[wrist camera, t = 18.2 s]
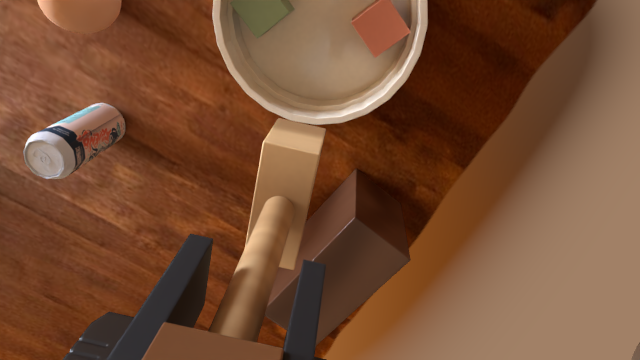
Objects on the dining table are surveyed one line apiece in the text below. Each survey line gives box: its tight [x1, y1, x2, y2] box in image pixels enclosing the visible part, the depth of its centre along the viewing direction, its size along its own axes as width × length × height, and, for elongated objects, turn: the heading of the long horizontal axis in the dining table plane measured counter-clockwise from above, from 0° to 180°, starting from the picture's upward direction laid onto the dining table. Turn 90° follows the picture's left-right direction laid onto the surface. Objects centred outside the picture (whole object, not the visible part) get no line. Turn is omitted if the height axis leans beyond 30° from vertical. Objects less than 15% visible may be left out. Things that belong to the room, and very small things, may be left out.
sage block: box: [230, 0, 294, 38], centre depth 46 cm, size 4×4×4 cm
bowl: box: [213, 0, 428, 125], centre depth 46 cm, size 19×19×6 cm
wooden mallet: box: [142, 118, 326, 360], centre depth 17 cm, size 6×3×17 cm, turn 168°
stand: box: [265, 169, 410, 345], centre depth 53 cm, size 7×15×12 cm, turn 141°
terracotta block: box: [351, 0, 411, 58], centre depth 46 cm, size 4×4×4 cm
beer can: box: [23, 103, 125, 179], centre depth 49 cm, size 5×5×12 cm
